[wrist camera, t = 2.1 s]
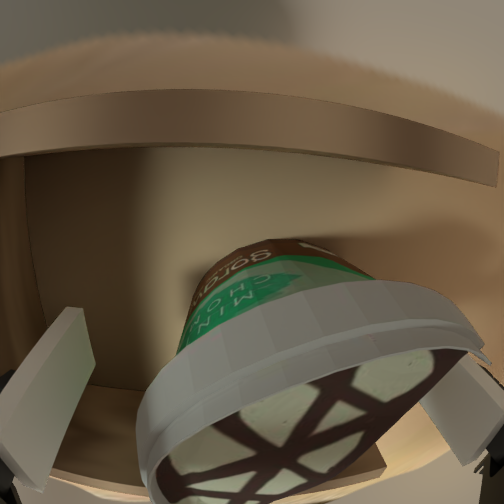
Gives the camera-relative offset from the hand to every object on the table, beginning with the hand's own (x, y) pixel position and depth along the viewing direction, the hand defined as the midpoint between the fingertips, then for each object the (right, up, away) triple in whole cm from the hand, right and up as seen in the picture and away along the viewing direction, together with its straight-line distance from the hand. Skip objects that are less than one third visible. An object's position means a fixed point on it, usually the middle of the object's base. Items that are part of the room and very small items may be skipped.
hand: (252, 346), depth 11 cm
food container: (-1, +2, +4) cm, 5 cm away
